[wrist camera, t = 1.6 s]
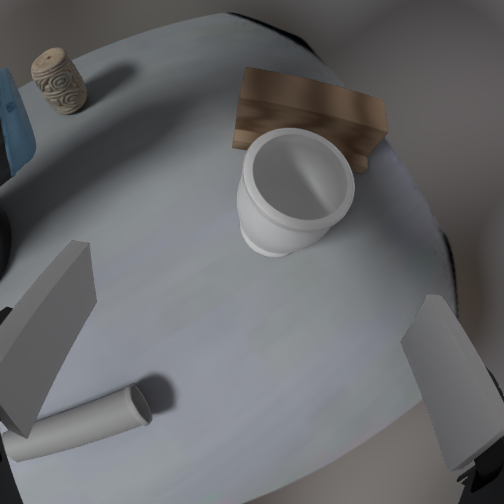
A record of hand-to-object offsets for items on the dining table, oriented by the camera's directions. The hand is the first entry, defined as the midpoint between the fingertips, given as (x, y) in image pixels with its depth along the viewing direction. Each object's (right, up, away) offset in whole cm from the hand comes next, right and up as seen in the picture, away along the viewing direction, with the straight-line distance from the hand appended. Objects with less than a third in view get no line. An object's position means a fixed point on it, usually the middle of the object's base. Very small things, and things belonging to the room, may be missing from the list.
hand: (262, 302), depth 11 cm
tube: (-25, -22, +21) cm, 39 cm away
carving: (-31, +27, +32) cm, 52 cm away
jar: (+2, +5, +31) cm, 31 cm away
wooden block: (+7, +20, +35) cm, 41 cm away
